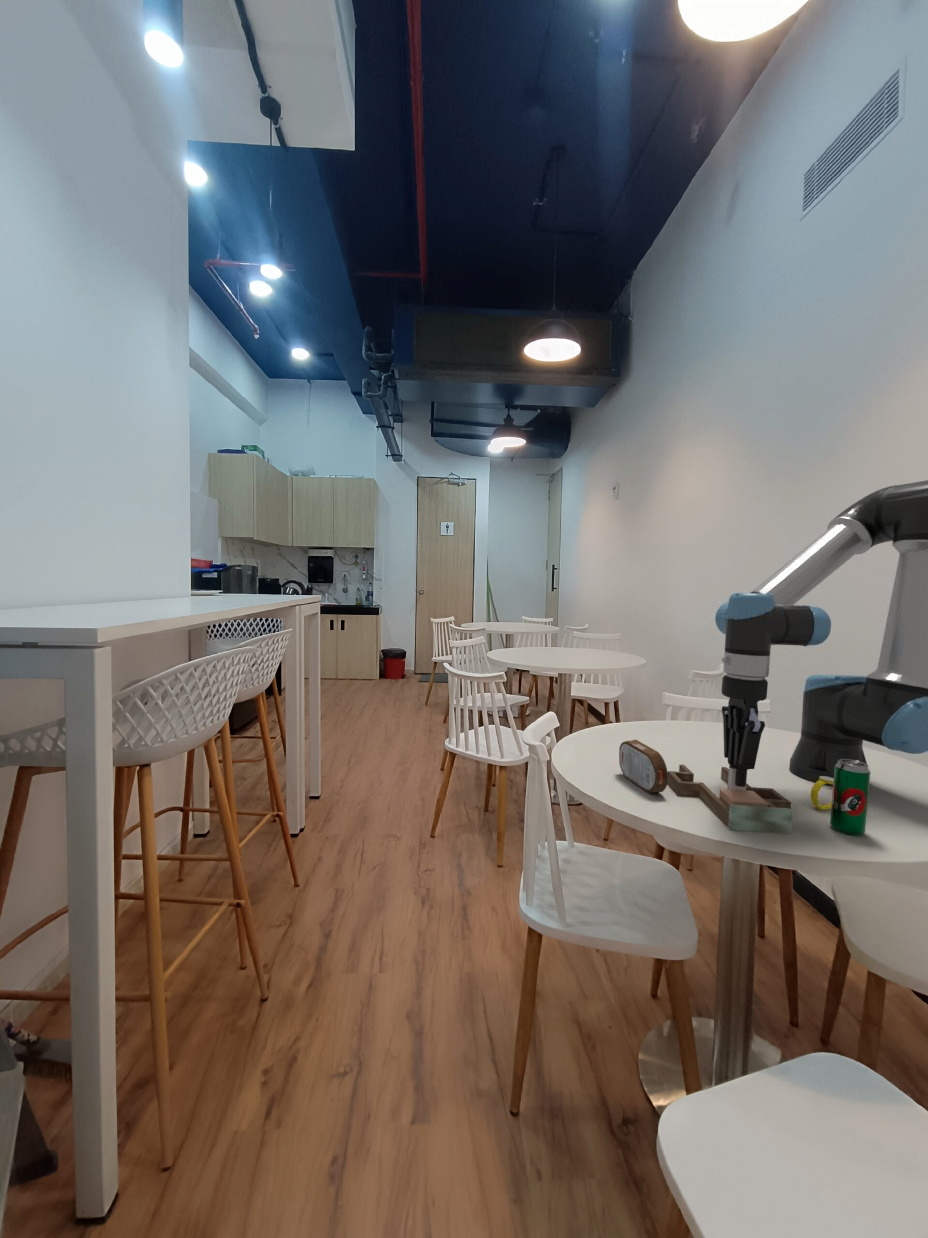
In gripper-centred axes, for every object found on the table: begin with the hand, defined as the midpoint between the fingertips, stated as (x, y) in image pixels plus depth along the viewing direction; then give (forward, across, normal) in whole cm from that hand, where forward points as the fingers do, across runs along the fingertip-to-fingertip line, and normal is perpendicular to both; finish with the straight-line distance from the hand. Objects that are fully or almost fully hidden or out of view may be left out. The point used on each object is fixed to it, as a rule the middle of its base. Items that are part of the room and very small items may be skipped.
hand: (735, 800), depth 104 cm
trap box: (+1, -3, 0) cm, 3 cm away
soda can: (+2, +7, +16) cm, 18 cm away
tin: (+2, -10, -15) cm, 18 cm away
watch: (+2, -3, +18) cm, 18 cm away
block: (+2, +4, 0) cm, 4 cm away
